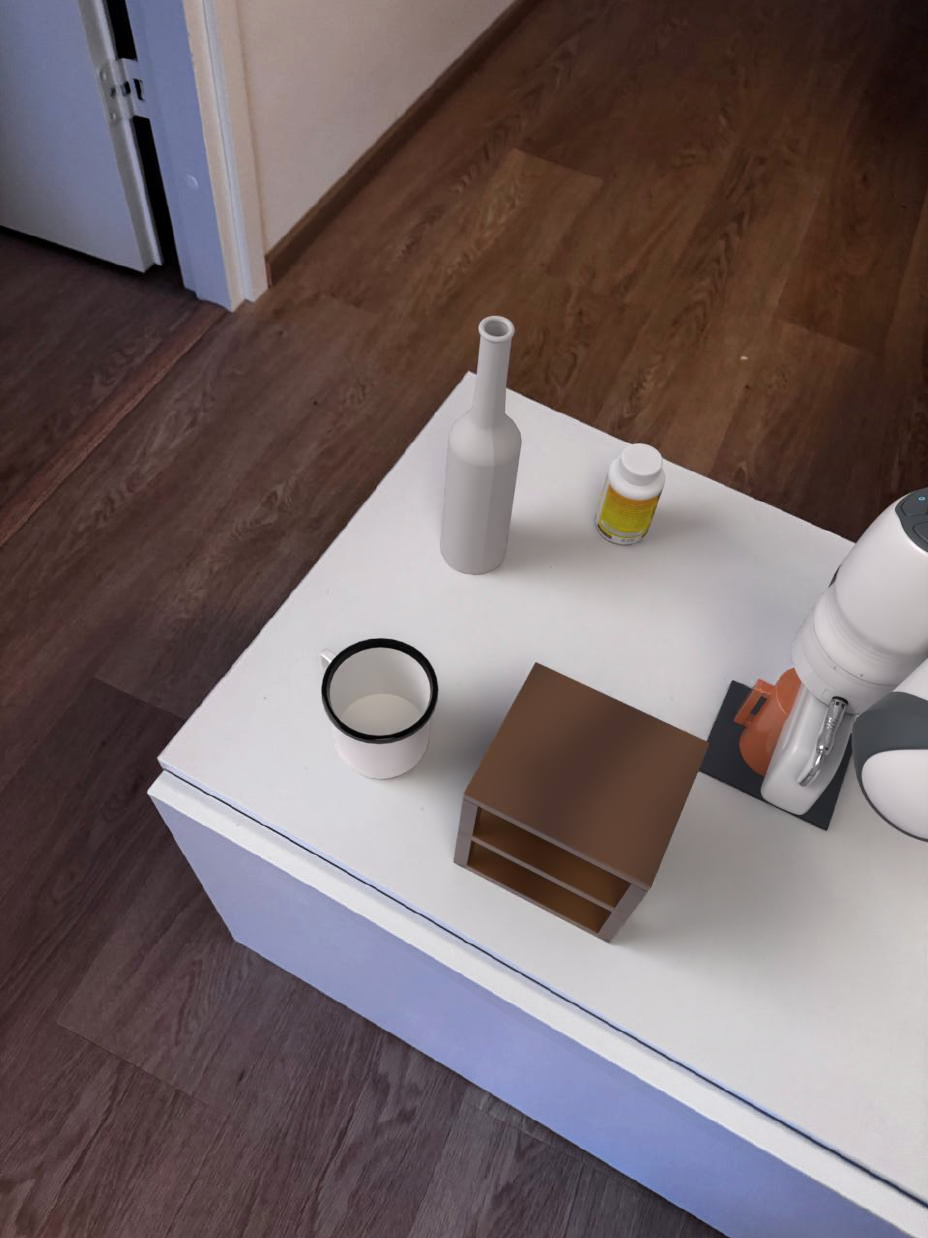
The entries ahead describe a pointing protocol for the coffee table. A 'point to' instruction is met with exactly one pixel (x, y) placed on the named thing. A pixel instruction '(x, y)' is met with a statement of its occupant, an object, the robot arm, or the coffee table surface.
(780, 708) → the orange two-handled pot
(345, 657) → the mug
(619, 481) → the supplement bottle
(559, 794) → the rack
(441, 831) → the coffee table surface
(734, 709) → the mat
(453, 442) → the bottle
